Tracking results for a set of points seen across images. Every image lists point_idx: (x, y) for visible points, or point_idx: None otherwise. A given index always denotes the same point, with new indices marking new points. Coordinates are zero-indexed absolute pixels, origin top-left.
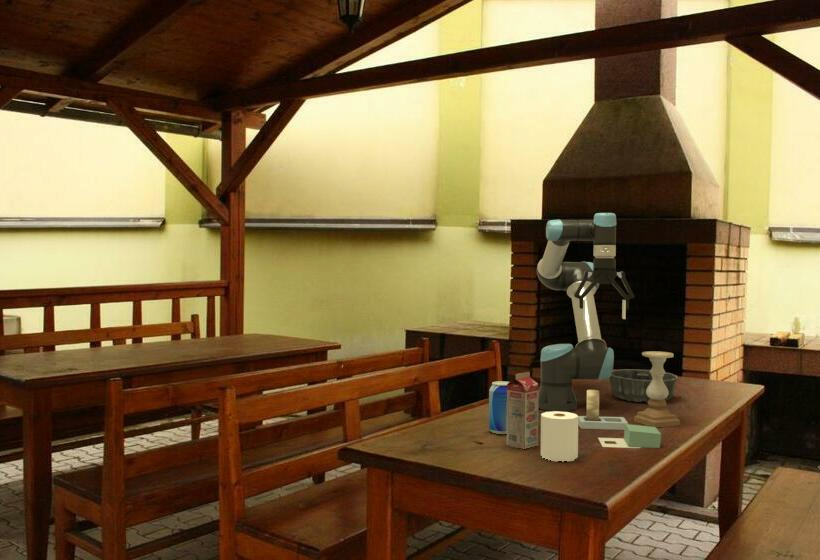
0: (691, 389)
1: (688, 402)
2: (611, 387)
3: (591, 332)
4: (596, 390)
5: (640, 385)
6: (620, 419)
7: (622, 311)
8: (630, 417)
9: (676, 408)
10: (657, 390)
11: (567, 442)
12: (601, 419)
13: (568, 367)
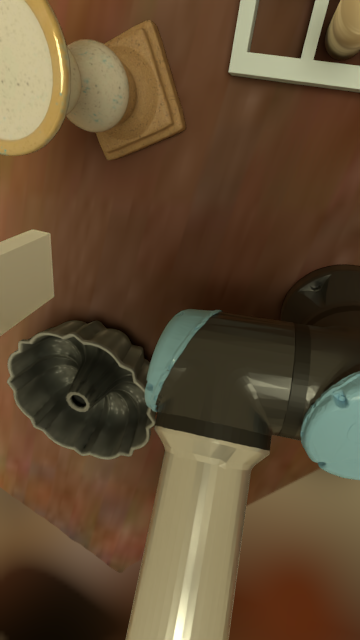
0: (5, 420)
1: (23, 325)
2: None
3: (200, 484)
4: (353, 5)
5: (101, 339)
6: (249, 36)
7: (13, 307)
8: (181, 180)
9: (53, 274)
10: (90, 43)
11: None
12: (319, 25)
13: (339, 334)
